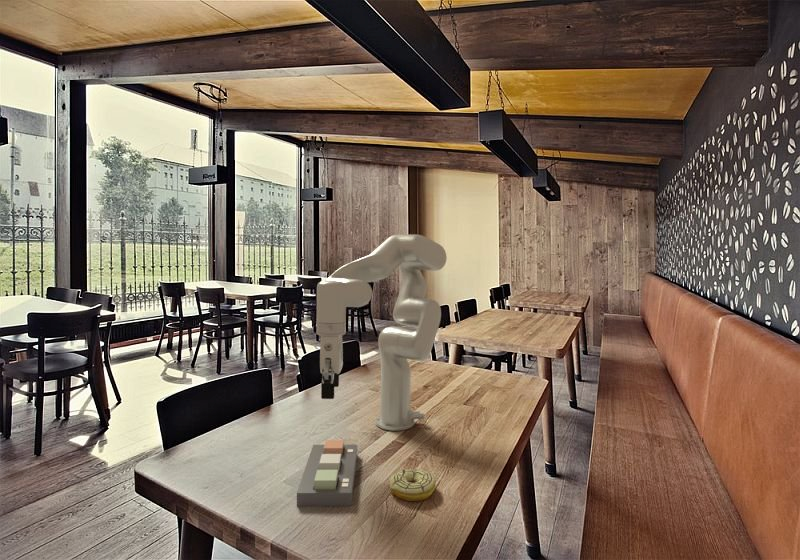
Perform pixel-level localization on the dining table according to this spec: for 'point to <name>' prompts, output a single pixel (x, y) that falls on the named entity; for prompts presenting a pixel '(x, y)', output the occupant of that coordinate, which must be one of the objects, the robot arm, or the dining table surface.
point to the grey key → (330, 462)
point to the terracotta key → (334, 447)
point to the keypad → (344, 486)
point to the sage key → (326, 480)
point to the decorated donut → (412, 484)
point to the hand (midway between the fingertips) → (330, 392)
